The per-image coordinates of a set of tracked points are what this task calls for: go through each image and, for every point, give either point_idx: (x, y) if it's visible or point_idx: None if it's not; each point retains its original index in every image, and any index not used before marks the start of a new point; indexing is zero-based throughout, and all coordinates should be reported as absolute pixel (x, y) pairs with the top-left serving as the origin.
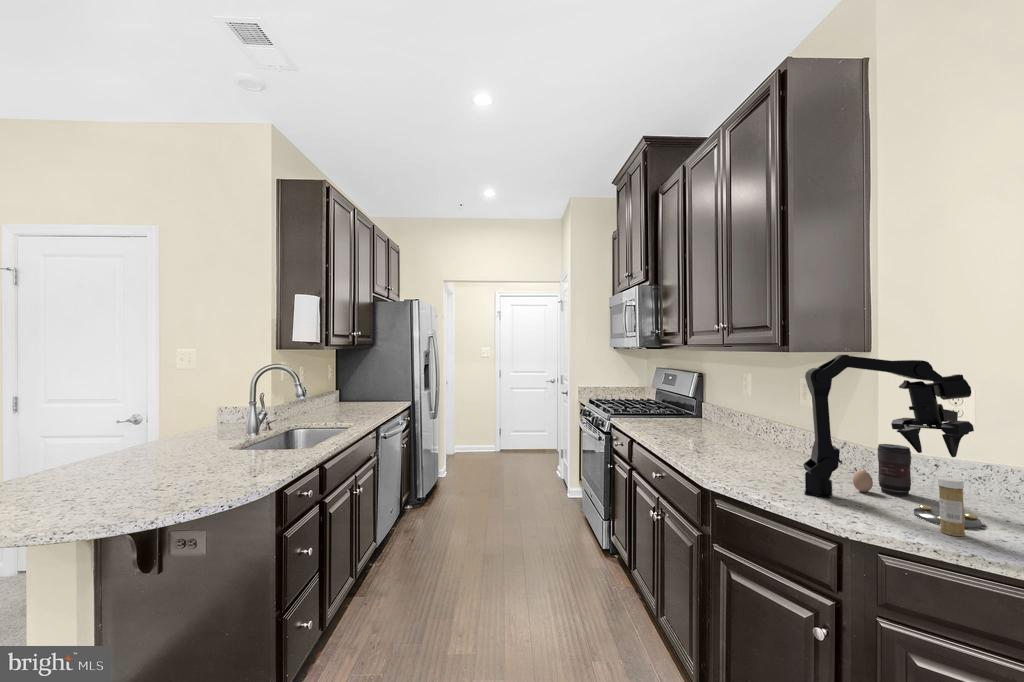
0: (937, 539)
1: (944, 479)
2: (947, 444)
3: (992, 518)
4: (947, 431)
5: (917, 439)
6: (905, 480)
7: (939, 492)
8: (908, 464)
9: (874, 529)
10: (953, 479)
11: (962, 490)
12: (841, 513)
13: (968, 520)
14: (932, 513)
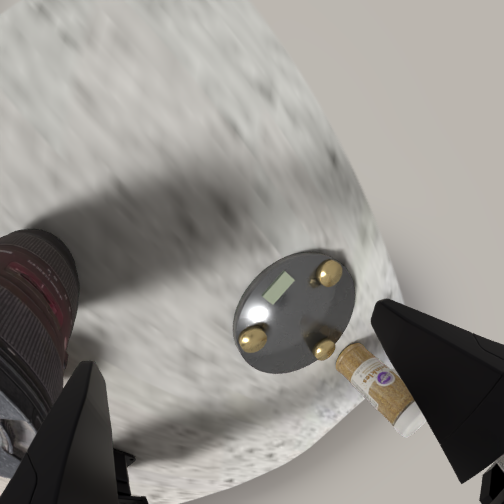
0: (352, 387)
1: (414, 432)
2: (435, 415)
3: (312, 177)
4: (499, 474)
5: (82, 495)
6: (74, 303)
7: (385, 417)
8: (49, 329)
9: (301, 441)
10: (424, 419)
11: None
12: (230, 461)
13: (335, 293)
14: (282, 341)
